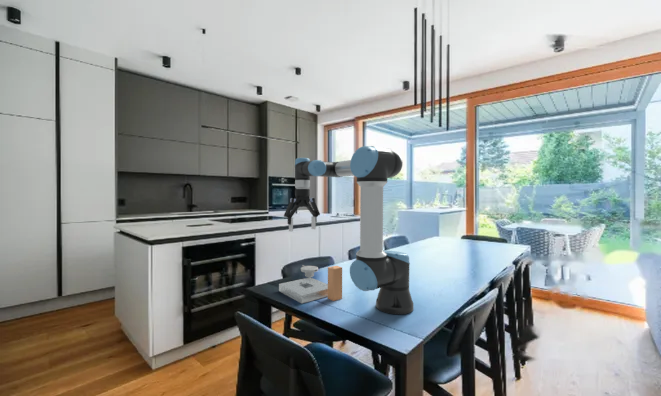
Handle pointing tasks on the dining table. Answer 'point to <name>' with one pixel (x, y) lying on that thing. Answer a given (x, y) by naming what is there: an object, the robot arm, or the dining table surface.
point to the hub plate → (304, 289)
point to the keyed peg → (334, 283)
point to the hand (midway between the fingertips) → (302, 230)
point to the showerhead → (309, 270)
